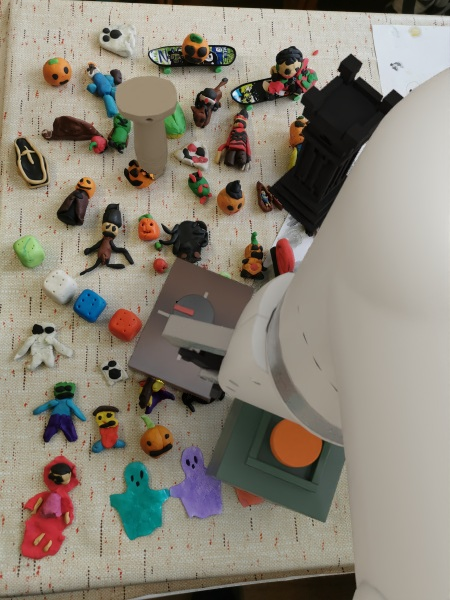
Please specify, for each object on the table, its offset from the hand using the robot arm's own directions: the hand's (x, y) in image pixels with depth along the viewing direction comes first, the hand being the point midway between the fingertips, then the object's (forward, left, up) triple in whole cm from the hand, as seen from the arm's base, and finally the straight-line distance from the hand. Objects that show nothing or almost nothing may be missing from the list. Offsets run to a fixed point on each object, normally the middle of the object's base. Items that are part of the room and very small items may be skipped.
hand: (288, 403), depth 38 cm
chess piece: (+31, +3, -28) cm, 42 cm away
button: (-2, -2, -5) cm, 6 cm away
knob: (+8, +10, -24) cm, 28 cm away
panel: (+8, +10, -27) cm, 30 cm away
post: (-2, -2, -27) cm, 27 cm away
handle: (+26, +23, -28) cm, 45 cm away
